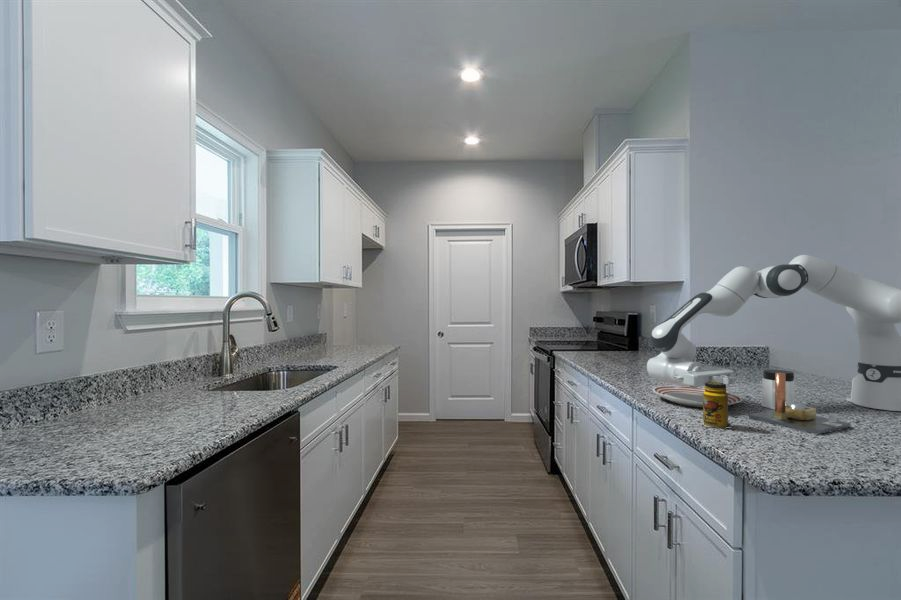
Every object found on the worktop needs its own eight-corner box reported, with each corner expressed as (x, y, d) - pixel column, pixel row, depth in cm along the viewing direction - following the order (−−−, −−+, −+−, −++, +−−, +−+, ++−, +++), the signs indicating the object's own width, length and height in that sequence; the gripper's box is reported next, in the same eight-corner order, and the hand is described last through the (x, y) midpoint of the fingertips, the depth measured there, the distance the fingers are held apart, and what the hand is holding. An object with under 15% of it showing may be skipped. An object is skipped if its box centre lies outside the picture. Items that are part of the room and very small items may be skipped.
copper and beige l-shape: (790, 411, 137) (790, 368, 137) (818, 417, 130) (818, 372, 130) (763, 416, 131) (763, 371, 131) (792, 423, 124) (792, 375, 124)
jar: (787, 412, 142) (787, 374, 142) (758, 406, 149) (758, 370, 149) (798, 408, 147) (798, 371, 147) (770, 403, 154) (770, 368, 154)
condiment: (701, 426, 126) (702, 384, 126) (700, 419, 134) (700, 379, 133) (732, 430, 123) (732, 386, 123) (729, 422, 130) (729, 381, 130)
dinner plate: (727, 396, 166) (727, 387, 166) (755, 414, 140) (755, 404, 140) (647, 391, 174) (647, 383, 174) (659, 408, 148) (659, 398, 148)
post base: (779, 412, 142) (780, 396, 142) (850, 427, 126) (851, 409, 126) (747, 418, 135) (747, 401, 135) (818, 435, 118) (818, 416, 118)
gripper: (669, 367, 149) (709, 373, 136) (709, 363, 158) (750, 368, 145) (669, 386, 149) (709, 394, 136) (709, 381, 158) (750, 388, 145)
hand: (731, 381), depth 141 cm, fingers closed
